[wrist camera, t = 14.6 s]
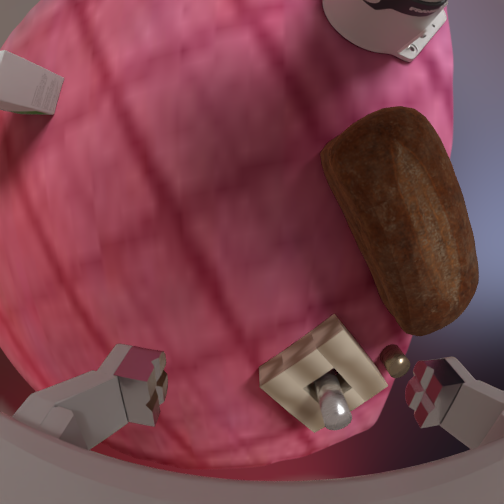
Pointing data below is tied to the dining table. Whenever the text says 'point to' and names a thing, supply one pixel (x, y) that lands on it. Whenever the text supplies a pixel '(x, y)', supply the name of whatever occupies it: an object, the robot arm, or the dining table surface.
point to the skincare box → (27, 86)
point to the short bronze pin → (394, 361)
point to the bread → (405, 216)
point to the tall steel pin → (332, 401)
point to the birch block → (320, 372)
